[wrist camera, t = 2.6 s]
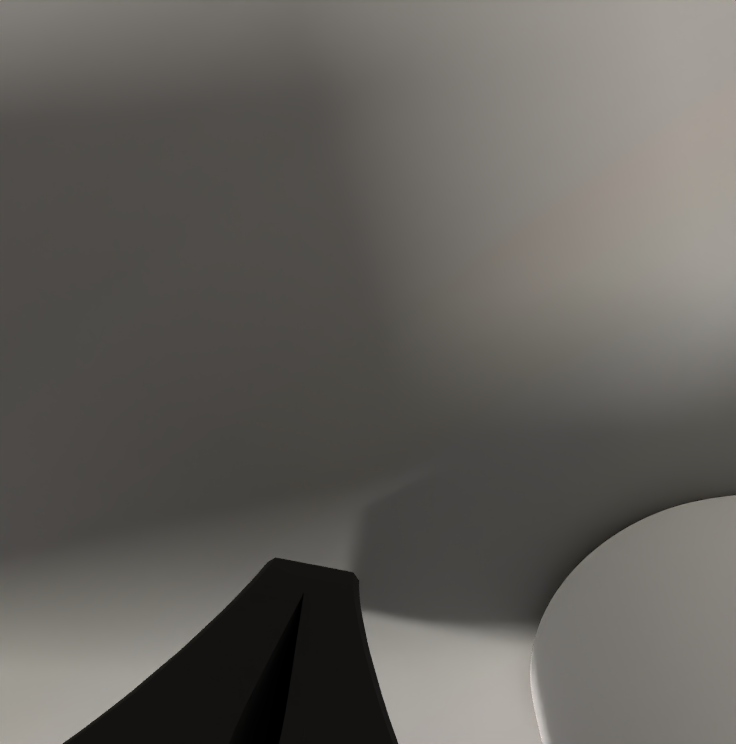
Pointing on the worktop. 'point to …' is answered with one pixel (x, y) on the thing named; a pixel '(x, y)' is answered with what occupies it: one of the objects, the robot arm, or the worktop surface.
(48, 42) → the worktop surface
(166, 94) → the worktop surface
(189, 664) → the robot arm
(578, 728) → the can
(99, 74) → the worktop surface
